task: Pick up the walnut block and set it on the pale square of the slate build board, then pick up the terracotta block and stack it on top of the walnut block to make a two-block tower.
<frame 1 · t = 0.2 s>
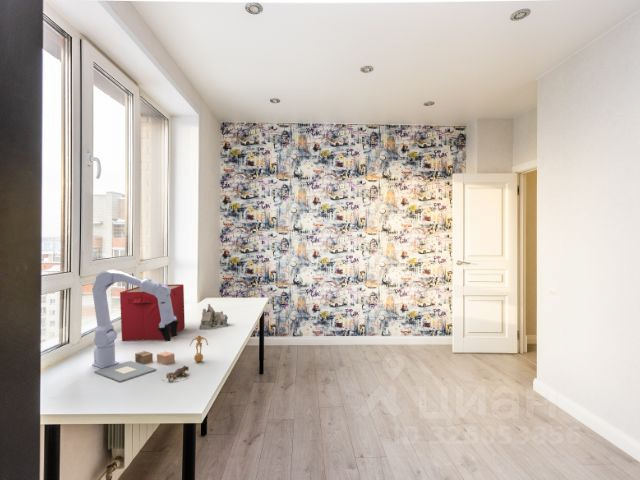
hand: (171, 338, 179), 10 cm above the table, fingers open, 7 cm apart
stone castle ruin: (213, 327, 246), on the table
build board: (125, 371, 166), on the table
terracotta block: (165, 362, 177), on the table
frog figurine: (177, 378, 157), on the table
walnut block: (144, 361, 179), on the table
storage cube: (155, 334, 230), on the table
figurine: (199, 361, 177), on the table
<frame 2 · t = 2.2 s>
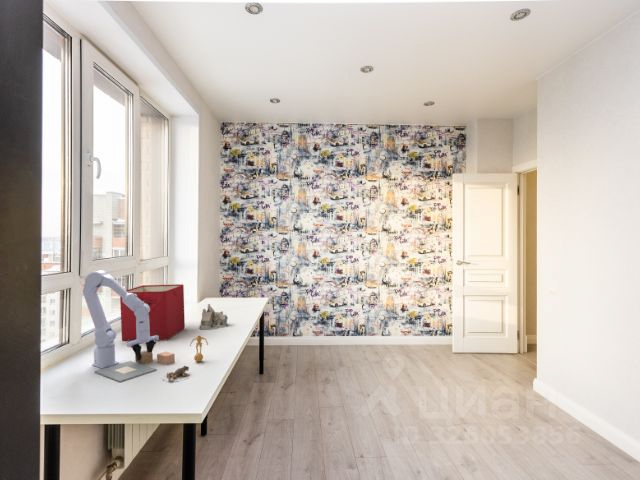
hand: (143, 358, 179), 1 cm above the table, fingers closed on walnut block, 5 cm apart
walnut block: (144, 361, 179), on the table, touching gripper
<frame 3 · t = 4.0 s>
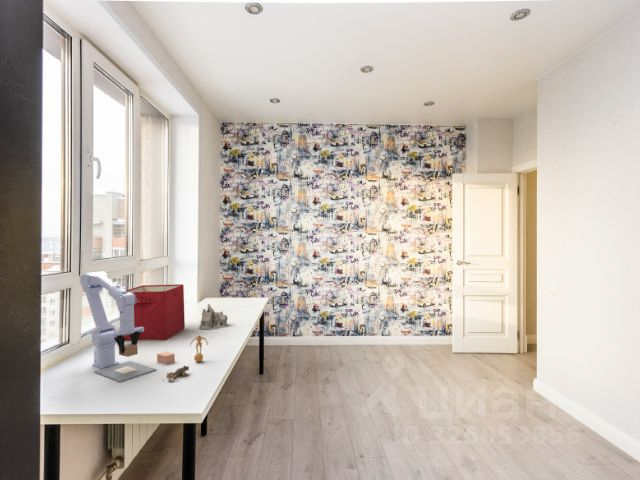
hand: (128, 350, 168), 8 cm above the table, fingers closed on walnut block, 5 cm apart
walnut block: (128, 354, 168), point 7 cm above the table, touching gripper
when the fingers open (3 cm above the table, at t = 5.7 s): walnut block stays where it is, resting on build board.
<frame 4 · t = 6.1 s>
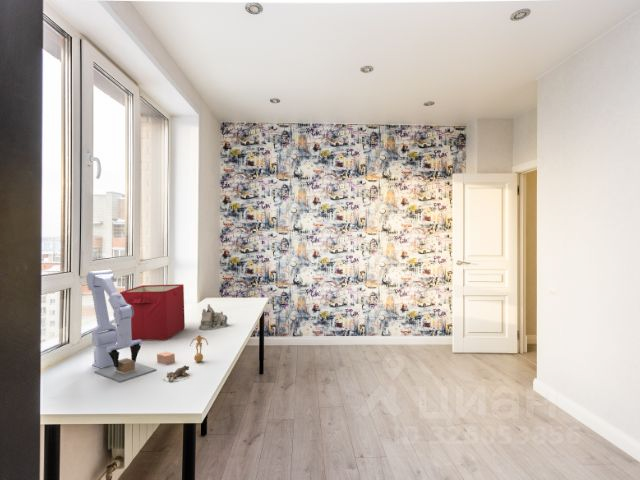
hand: (125, 364, 166), 3 cm above the table, fingers open, 7 cm apart
walnut block: (125, 369, 166), point 1 cm above the table, touching build board
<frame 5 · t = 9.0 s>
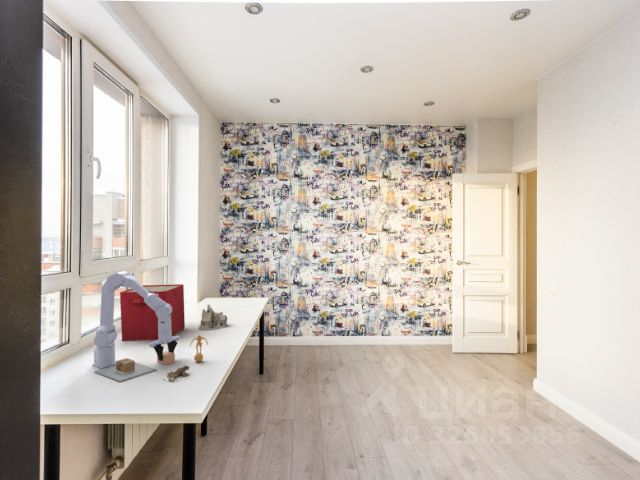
hand: (165, 358, 177), 1 cm above the table, fingers closed on terracotta block, 5 cm apart
terracotta block: (166, 361, 177), on the table, touching gripper
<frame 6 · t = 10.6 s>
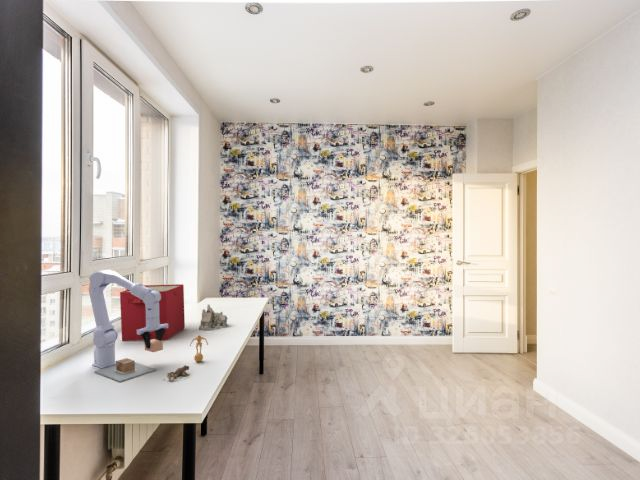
hand: (153, 346, 174), 8 cm above the table, fingers closed on terracotta block, 5 cm apart
terracotta block: (153, 349, 174), point 7 cm above the table, touching gripper
when the fingers open (7 cm above the table, at t = 12.1 s): terracotta block stays where it is, resting on walnut block.
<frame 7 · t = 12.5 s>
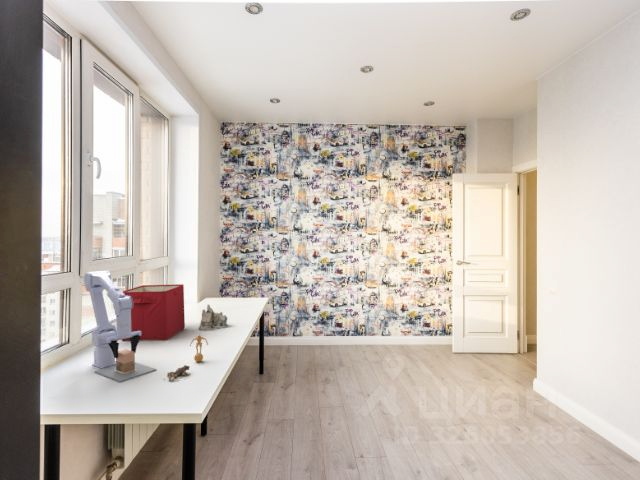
hand: (124, 355, 166), 7 cm above the table, fingers open, 7 cm apart
terracotta block: (125, 360, 166), point 5 cm above the table, touching walnut block
walnut block: (125, 369, 166), point 1 cm above the table, touching build board, terracotta block
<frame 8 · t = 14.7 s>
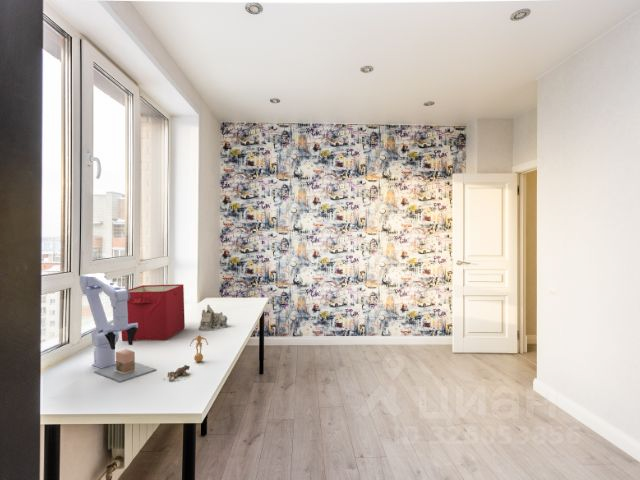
hand: (121, 347, 167), 10 cm above the table, fingers open, 7 cm apart
at the end: walnut block 0.1 cm off-centre on the build board, point 0.7 cm above the build board's base; terracotta block 0.2 cm off-centre on the walnut block, point 4.0 cm above the walnut block's base; terracotta block tilted 0° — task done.
